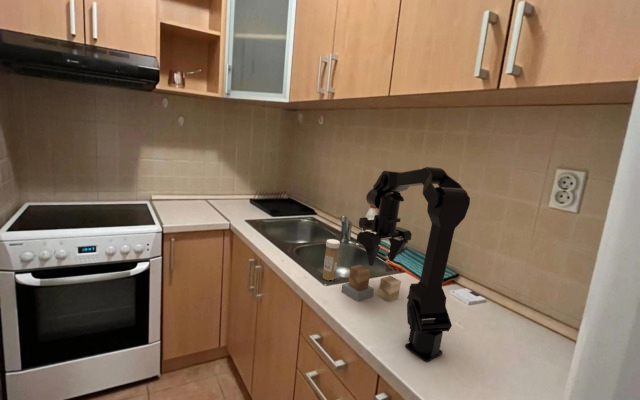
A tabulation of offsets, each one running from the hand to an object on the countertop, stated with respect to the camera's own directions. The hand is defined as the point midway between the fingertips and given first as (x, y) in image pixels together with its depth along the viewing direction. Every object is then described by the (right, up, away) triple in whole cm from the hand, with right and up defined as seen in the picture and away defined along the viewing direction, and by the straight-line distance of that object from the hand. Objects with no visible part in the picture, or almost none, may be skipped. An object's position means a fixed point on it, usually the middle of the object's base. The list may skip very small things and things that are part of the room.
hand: (381, 263), depth 104 cm
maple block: (+3, -12, +4) cm, 13 cm away
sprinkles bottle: (-16, -8, +13) cm, 22 cm away
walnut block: (-7, -8, +3) cm, 11 cm away
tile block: (-7, -11, +4) cm, 13 cm away
